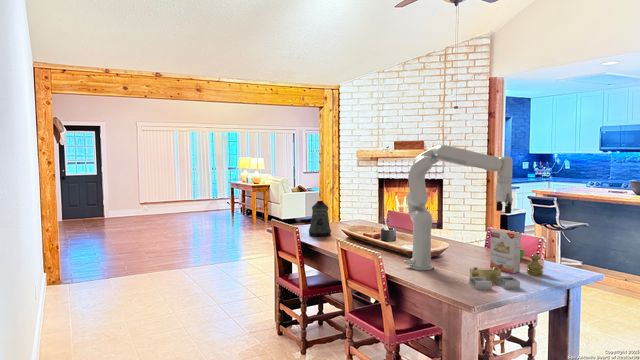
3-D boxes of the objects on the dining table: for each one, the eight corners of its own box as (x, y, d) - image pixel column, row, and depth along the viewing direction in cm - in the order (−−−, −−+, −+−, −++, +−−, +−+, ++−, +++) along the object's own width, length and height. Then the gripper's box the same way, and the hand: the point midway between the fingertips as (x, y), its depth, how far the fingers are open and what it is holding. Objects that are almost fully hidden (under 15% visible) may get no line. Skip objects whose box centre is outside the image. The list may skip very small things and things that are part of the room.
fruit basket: (516, 256, 271) (516, 237, 270) (527, 259, 262) (527, 240, 262) (500, 258, 267) (500, 238, 266) (510, 261, 259) (511, 241, 258)
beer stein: (310, 237, 328) (310, 203, 326) (306, 232, 347) (306, 199, 345) (333, 236, 331) (333, 202, 329) (327, 231, 350) (327, 199, 348)
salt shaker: (543, 276, 229) (544, 256, 228) (527, 275, 232) (527, 255, 231) (542, 272, 236) (542, 253, 235) (526, 271, 239) (526, 252, 238)
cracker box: (489, 268, 245) (490, 229, 244) (496, 266, 249) (497, 228, 247) (513, 274, 234) (514, 233, 232) (520, 272, 237) (521, 232, 235)
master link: (472, 282, 220) (472, 268, 220) (469, 280, 223) (470, 266, 223) (500, 281, 221) (500, 268, 221) (497, 280, 224) (498, 266, 224)
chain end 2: (504, 289, 209) (504, 281, 209) (496, 283, 218) (496, 276, 218) (519, 289, 209) (519, 281, 209) (510, 283, 218) (510, 275, 218)
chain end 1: (476, 290, 208) (476, 282, 208) (469, 284, 217) (469, 276, 217) (491, 289, 209) (492, 282, 208) (483, 283, 218) (483, 276, 217)
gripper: (490, 179, 252) (489, 210, 253) (505, 181, 235) (504, 214, 236) (503, 178, 252) (502, 209, 254) (519, 181, 235) (518, 214, 236)
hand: (503, 212), depth 245 cm, fingers open, 9 cm apart
